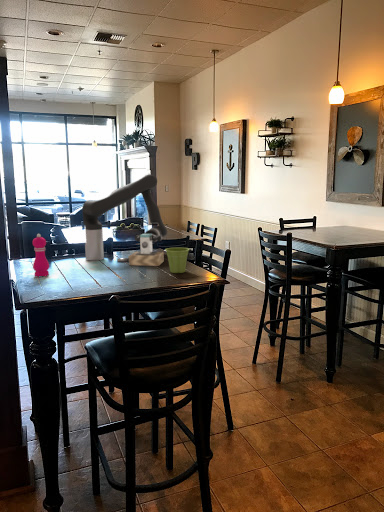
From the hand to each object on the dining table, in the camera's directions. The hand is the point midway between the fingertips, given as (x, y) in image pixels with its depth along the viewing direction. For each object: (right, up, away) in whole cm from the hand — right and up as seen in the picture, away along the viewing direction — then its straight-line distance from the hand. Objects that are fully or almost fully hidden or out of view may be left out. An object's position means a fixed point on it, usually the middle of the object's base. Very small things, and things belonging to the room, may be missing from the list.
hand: (145, 239), depth 220 cm
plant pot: (+18, -17, -18) cm, 30 cm away
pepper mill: (-47, -18, -24) cm, 55 cm away
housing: (0, -7, +3) cm, 8 cm away
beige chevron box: (0, -12, +4) cm, 13 cm away
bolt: (-13, -12, +8) cm, 19 cm away
